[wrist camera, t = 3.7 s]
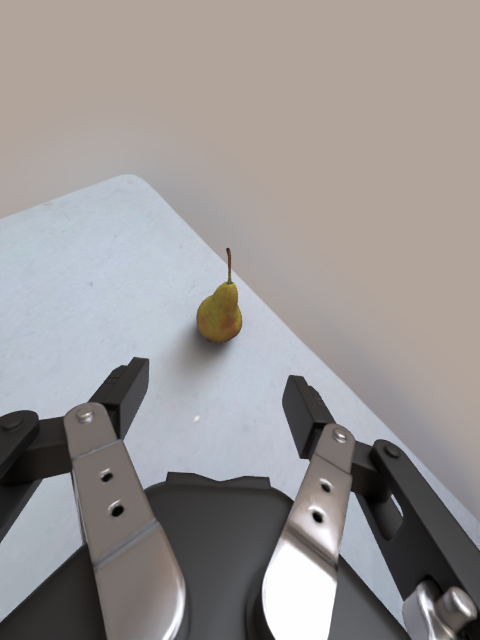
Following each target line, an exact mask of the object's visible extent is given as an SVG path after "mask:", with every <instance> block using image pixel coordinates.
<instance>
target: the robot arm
mask: <svg viewBox="0 0 480 640" xmlns="http://www.w3.org/2000/svg"><path fill="white" fill-rule="evenodd" d="M148 382H149V359H147V358H138V357H134V358H133V359H132V360H131V362H130V363H129V364H128V366H125V365H121V366H120V367H118V368H116V369H114V370H113V371H112V372H111V374H110V375H109V376H108V378H107V379H106V380H105V381H104V383H103V384H102V385H101V386H100V387H99V388H98V390H97V391H96V392H95V393H94V395H93V396H92V397H91V398H90V400H89V401H88V402H87V403H84V404H81V405H78V406H76V407H74V408H72V409H71V410H70V411H68V412H67V414H66V415H65V416H63V417H57V418H50V419H43V420H39V418H38V415H37V413H36V412H33V411H29V410H22V411H16V412H12V413H9V414H6V415H4V416H1V417H0V543H1V541H2V540H3V538H4V537H5V535H6V534H7V532H8V531H9V529H10V528H11V526H12V525H13V523H14V522H15V520H16V519H17V517H18V516H19V514H20V513H21V511H22V510H23V508H24V507H25V505H26V504H27V502H28V501H29V499H30V498H31V496H32V495H33V493H34V492H35V490H36V489H37V487H38V486H39V484H40V483H41V481H42V480H43V478H48V477H52V476H56V475H61V474H65V473H69V472H70V474H71V480H72V485H73V491H74V497H75V502H76V508H77V514H78V520H79V527H80V533H81V539H82V546H81V547H80V548H79V549H78V550H77V551H76V552H75V553H74V554H72V555H71V556H70V557H69V558H68V559H67V560H66V561H65V562H64V563H63V564H62V565H61V566H60V567H59V568H58V569H57V570H55V571H54V572H53V573H52V574H51V575H50V576H49V577H48V578H47V579H46V580H45V581H44V582H43V583H42V584H41V585H39V586H38V587H37V588H36V589H35V590H34V591H33V592H32V593H31V594H30V595H29V596H28V597H27V598H26V599H25V600H24V601H22V602H21V603H20V604H19V605H18V606H17V607H16V608H15V609H14V610H13V611H12V612H11V613H10V614H9V615H8V616H7V617H5V618H4V619H3V620H2V621H1V622H0V640H480V551H479V549H478V548H477V547H476V545H475V544H474V543H473V541H472V540H471V539H470V538H469V536H468V535H467V534H466V532H465V531H464V530H463V528H462V527H461V526H460V524H459V523H458V522H457V520H456V519H455V518H454V517H453V515H452V514H451V513H450V511H449V510H448V509H447V507H446V506H445V505H444V503H443V502H442V501H441V500H440V498H439V497H438V496H437V494H436V493H435V492H434V490H433V489H432V488H431V486H430V485H429V484H428V483H427V481H426V480H425V479H424V477H423V476H422V475H421V473H420V472H419V471H418V469H417V468H416V467H415V466H414V464H413V463H412V462H411V460H410V459H409V458H408V456H407V455H406V454H405V453H404V452H403V451H402V450H401V449H400V448H399V447H398V446H396V445H395V444H393V443H391V442H389V441H386V440H382V439H379V440H376V441H375V442H374V444H373V446H370V445H367V444H364V443H361V442H358V441H356V440H355V438H354V436H353V435H352V434H351V432H350V431H348V430H347V429H346V428H344V427H343V426H341V425H338V424H336V422H335V420H334V419H333V417H332V415H331V413H330V412H329V410H328V408H327V407H326V406H325V403H324V402H323V400H322V398H321V396H320V395H319V393H318V392H317V391H316V390H315V389H314V388H313V387H312V386H308V384H307V382H306V381H305V379H304V377H303V376H294V375H290V376H289V377H288V380H287V384H286V387H285V390H284V394H283V398H282V406H283V409H284V412H285V415H286V418H287V421H288V424H289V427H290V430H291V433H292V436H293V439H294V442H295V445H296V448H297V451H298V454H299V457H300V459H309V461H310V464H309V466H308V469H307V471H306V474H305V476H304V479H303V481H302V484H301V486H300V489H299V491H298V494H297V496H296V499H295V501H293V500H292V499H291V498H290V497H288V496H287V495H286V494H284V493H283V492H281V491H280V490H278V489H275V488H273V487H271V485H270V480H269V477H255V476H243V477H239V478H234V479H230V480H225V481H216V480H213V479H210V478H207V477H204V476H201V475H198V474H195V473H180V472H168V473H167V478H166V481H164V482H160V483H157V484H154V485H152V486H150V487H148V488H146V489H145V490H143V488H142V485H141V483H140V481H139V478H138V476H137V473H136V471H135V469H134V466H133V464H132V461H131V459H130V456H129V454H128V452H127V449H126V447H125V444H124V442H123V440H124V438H125V436H126V434H127V432H128V429H129V427H130V425H131V423H132V421H133V419H134V417H135V415H136V413H137V411H138V409H139V407H140V405H141V403H142V401H143V399H144V396H145V394H146V392H147V388H148ZM350 491H351V492H354V493H355V495H356V497H357V499H358V502H359V504H360V506H361V508H362V510H363V513H364V515H365V517H366V519H367V522H368V524H369V526H370V528H371V530H372V533H373V535H374V537H375V539H376V541H377V544H378V546H379V548H380V550H381V553H382V555H383V557H384V559H385V561H386V564H387V566H388V568H389V570H390V573H391V575H392V577H393V579H394V581H395V584H396V586H397V588H398V590H399V593H400V595H401V597H402V599H403V601H404V603H403V607H402V614H403V620H404V624H405V626H406V629H407V632H406V630H405V629H404V628H403V627H402V626H401V624H400V623H399V622H398V621H397V620H396V619H395V617H394V616H393V615H392V614H391V613H390V612H389V610H388V609H387V608H386V607H385V606H384V605H383V603H382V602H381V601H380V600H379V599H378V598H377V597H376V595H375V594H374V593H373V592H372V591H371V590H370V588H369V587H368V586H367V585H366V584H365V583H364V581H363V580H362V579H361V578H360V577H359V576H358V574H357V573H356V572H355V571H354V570H353V569H352V568H351V566H350V565H349V564H348V563H347V562H346V561H345V559H344V558H343V557H342V556H341V555H340V554H339V552H340V546H341V541H342V535H343V529H344V524H345V518H346V512H347V506H348V501H349V495H350ZM392 494H393V495H394V497H395V499H396V500H397V502H398V504H399V505H400V507H401V509H402V513H403V517H402V515H401V513H400V512H399V510H398V508H397V507H396V505H395V503H394V501H393V500H392V498H391V495H392Z"/></svg>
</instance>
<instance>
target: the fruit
mask: <svg viewBox="0 0 480 640" xmlns="http://www.w3.org/2000/svg"><path fill="white" fill-rule="evenodd" d="M226 251H227V254H228V269H229V272H228V281H227V282H225V283H223V284H222V285H221V286H219V287H218V288H217V290H216V291H215V292H214V294H213V295H211V296H209V297H208V298H206V299H205V300H204V301H203V302H202V303H201V305H200V306H199V308H198V311H197V317H196V318H197V325H198V329H199V331H200V333H201V334H202V336H203V337H204V338H205V339H206V340H207V341H209V342H213V343H221V342H225V341H228V340H230V339H232V338H234V337H235V336H236V335H237V334H238V333H239V332H240V330H241V327H242V316H241V312H240V309H239V307H238V305H237V303H238V292H237V288H236V285H235V283H234V282H231V253H230V249H229V248H227V249H226Z"/></svg>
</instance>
